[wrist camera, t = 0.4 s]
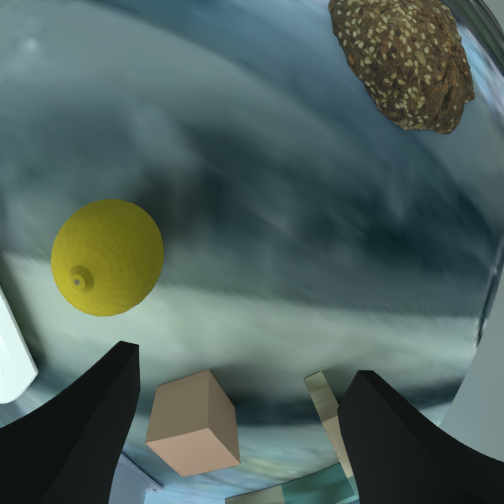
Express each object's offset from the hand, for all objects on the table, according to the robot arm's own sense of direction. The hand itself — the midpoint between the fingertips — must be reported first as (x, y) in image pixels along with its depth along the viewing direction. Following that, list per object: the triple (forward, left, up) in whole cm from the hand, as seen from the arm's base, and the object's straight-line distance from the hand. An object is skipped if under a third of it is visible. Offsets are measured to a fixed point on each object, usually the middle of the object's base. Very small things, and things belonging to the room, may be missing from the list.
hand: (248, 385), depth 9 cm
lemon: (-5, +5, -11) cm, 13 cm away
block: (-7, -8, -11) cm, 15 cm away
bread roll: (+18, +10, -11) cm, 24 cm away
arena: (-5, -18, -10) cm, 22 cm away
